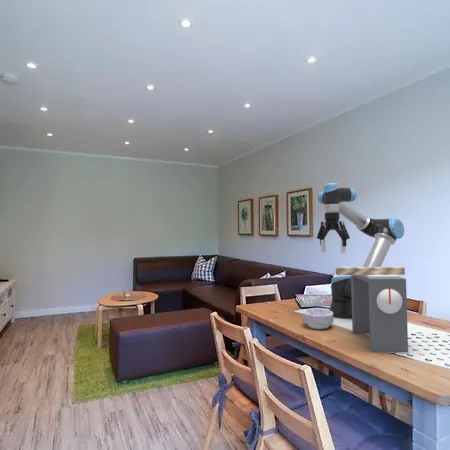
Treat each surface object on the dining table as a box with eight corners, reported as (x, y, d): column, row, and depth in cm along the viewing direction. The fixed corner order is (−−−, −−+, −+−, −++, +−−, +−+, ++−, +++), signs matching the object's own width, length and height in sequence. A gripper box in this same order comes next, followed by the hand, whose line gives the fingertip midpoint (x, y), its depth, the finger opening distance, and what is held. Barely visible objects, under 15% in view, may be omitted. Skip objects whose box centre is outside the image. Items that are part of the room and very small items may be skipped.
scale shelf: (373, 353, 137) (371, 277, 138) (352, 331, 166) (350, 269, 167) (409, 353, 136) (407, 276, 137) (381, 332, 165) (380, 268, 166)
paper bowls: (310, 332, 167) (310, 316, 167) (299, 323, 182) (298, 309, 182) (339, 330, 169) (338, 314, 170) (325, 322, 185) (325, 307, 185)
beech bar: (337, 275, 145) (337, 268, 145) (335, 274, 148) (335, 267, 148) (404, 274, 143) (404, 267, 143) (401, 273, 146) (401, 266, 146)
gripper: (309, 213, 188) (310, 251, 187) (346, 210, 166) (347, 253, 166) (319, 213, 192) (320, 250, 191) (356, 211, 170) (357, 253, 170)
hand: (333, 252), depth 179 cm, fingers open, 13 cm apart
